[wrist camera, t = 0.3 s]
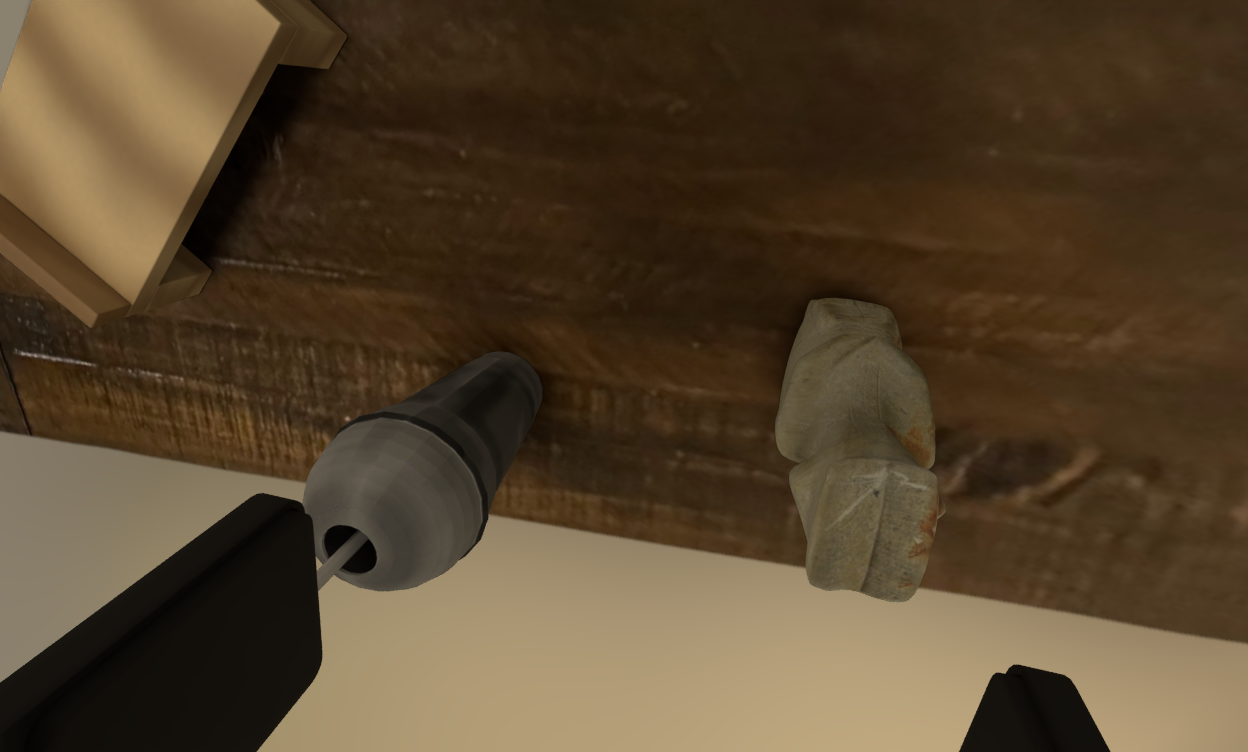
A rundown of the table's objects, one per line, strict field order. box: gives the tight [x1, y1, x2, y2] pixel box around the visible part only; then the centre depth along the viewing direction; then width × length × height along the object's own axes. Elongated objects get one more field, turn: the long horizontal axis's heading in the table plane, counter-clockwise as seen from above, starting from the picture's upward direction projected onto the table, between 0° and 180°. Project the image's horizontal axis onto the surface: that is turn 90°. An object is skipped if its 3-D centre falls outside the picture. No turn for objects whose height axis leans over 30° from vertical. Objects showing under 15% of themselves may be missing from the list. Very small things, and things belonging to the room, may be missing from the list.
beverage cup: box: [302, 351, 542, 591], centre depth 29 cm, size 7×7×20 cm
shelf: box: [0, 0, 347, 328], centre depth 33 cm, size 18×10×7 cm, turn 139°
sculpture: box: [775, 298, 946, 602], centre depth 27 cm, size 6×7×15 cm
